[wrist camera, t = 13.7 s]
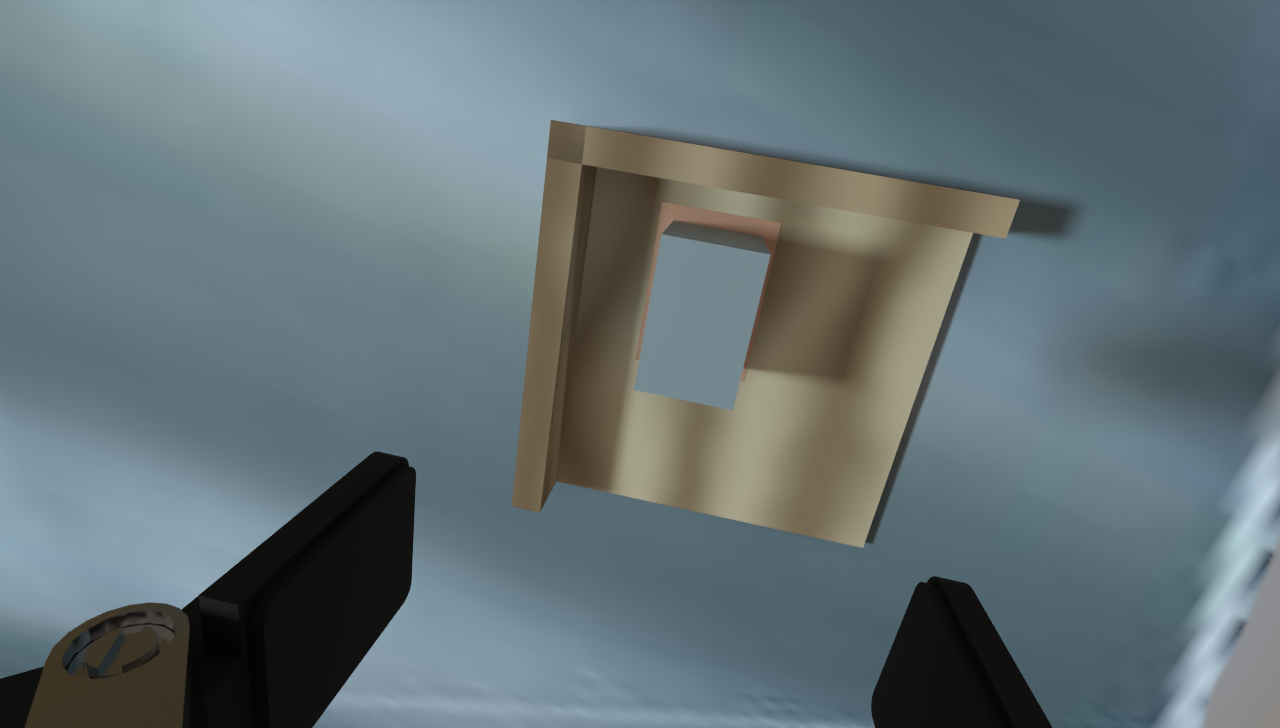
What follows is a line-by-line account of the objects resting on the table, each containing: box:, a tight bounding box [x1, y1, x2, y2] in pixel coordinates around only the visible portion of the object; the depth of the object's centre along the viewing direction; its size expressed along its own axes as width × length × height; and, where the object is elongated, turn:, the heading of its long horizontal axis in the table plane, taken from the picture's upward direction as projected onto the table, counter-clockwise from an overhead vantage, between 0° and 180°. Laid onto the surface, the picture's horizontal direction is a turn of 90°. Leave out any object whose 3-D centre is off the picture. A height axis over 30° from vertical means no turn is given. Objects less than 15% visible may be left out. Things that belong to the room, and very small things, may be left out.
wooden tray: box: [512, 120, 1020, 548], centre depth 31 cm, size 20×20×4 cm
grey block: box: [634, 220, 771, 410], centre depth 28 cm, size 7×4×6 cm, turn 170°
